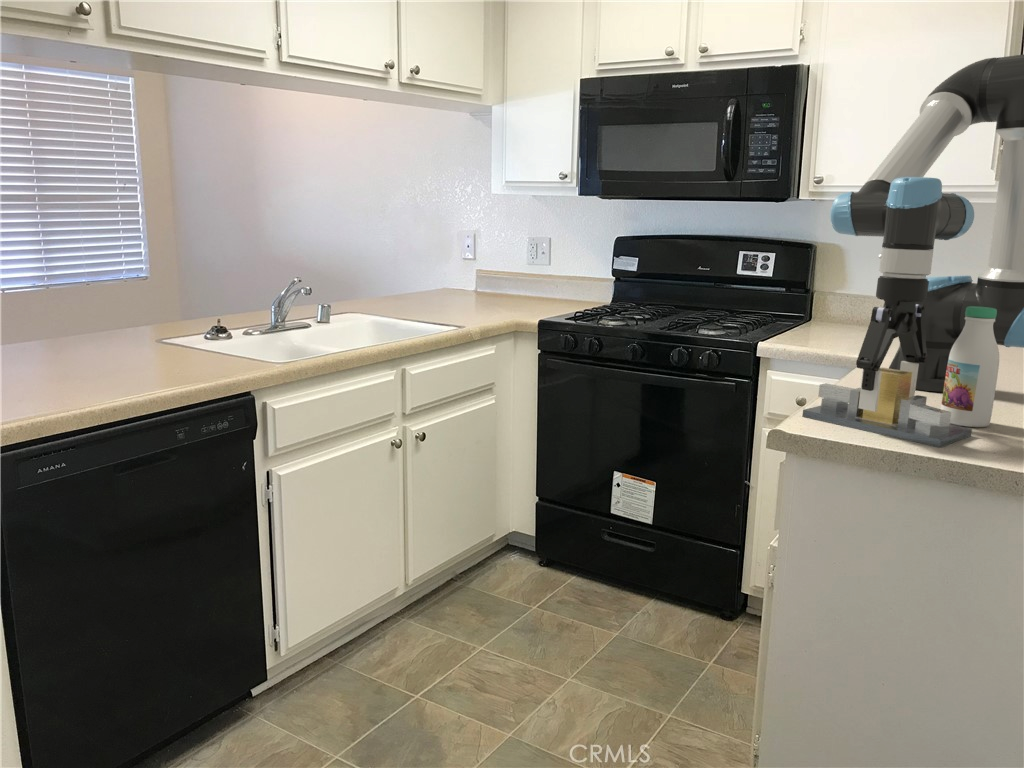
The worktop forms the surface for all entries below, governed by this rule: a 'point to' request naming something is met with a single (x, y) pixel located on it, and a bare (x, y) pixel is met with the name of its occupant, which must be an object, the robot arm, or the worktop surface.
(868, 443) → the worktop surface
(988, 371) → the milk bottle
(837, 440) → the worktop surface
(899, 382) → the yellow block
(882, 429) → the grey fixture board
